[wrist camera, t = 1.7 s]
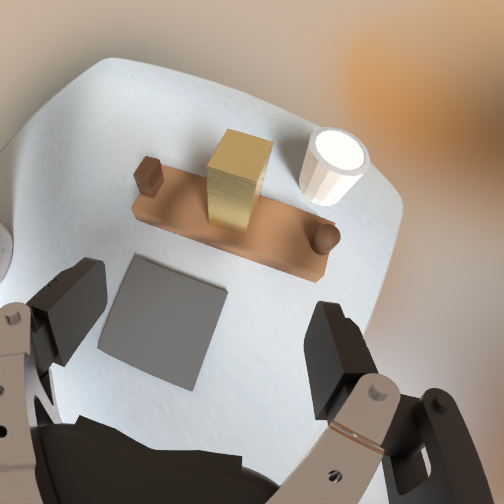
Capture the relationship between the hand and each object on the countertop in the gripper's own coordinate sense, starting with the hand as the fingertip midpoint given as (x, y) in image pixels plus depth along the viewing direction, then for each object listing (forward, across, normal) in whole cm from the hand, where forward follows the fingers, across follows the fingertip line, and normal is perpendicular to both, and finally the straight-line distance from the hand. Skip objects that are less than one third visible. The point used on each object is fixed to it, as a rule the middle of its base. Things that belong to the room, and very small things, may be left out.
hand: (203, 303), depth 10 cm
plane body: (+20, 0, +4) cm, 20 cm away
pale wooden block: (+18, 0, +2) cm, 18 cm away
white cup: (+26, -9, -2) cm, 27 cm away
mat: (+12, +5, +12) cm, 17 cm away
